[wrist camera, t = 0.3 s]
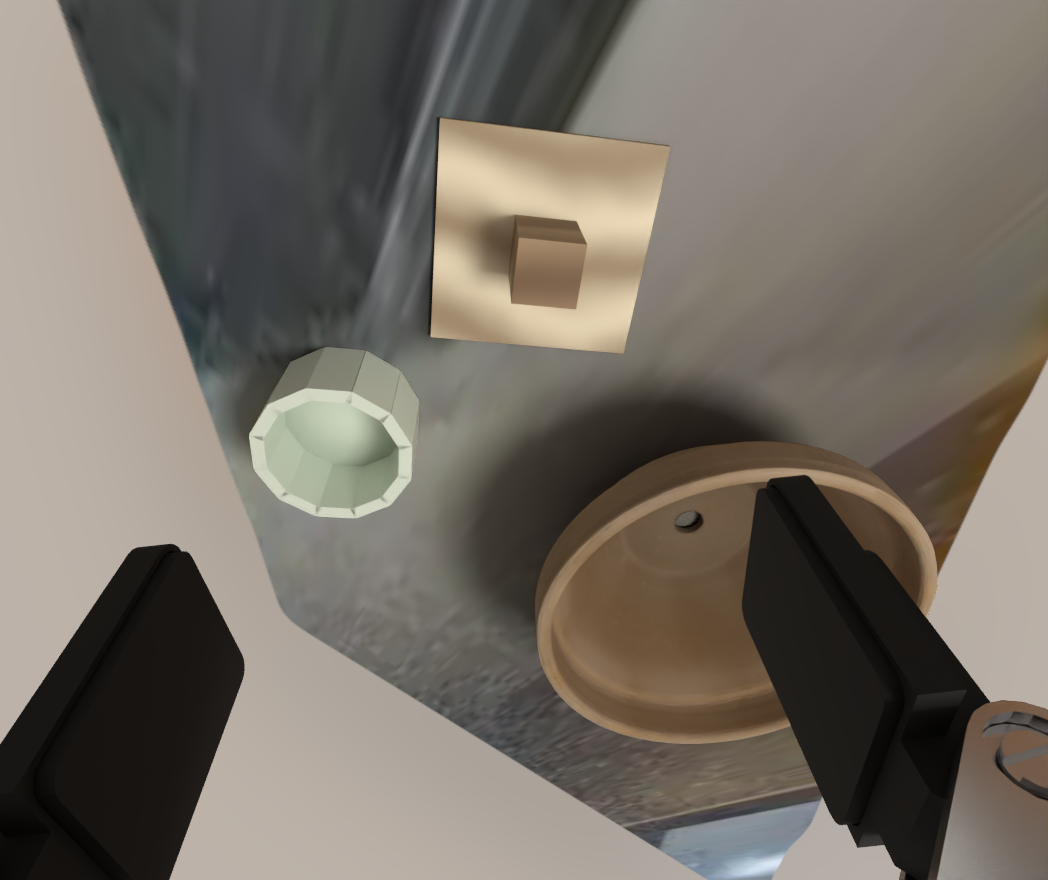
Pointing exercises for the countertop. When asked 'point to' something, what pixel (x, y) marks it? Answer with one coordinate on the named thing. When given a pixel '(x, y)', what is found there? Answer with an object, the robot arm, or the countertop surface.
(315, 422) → the bowl
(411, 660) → the countertop surface
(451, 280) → the lid
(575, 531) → the flower pot
